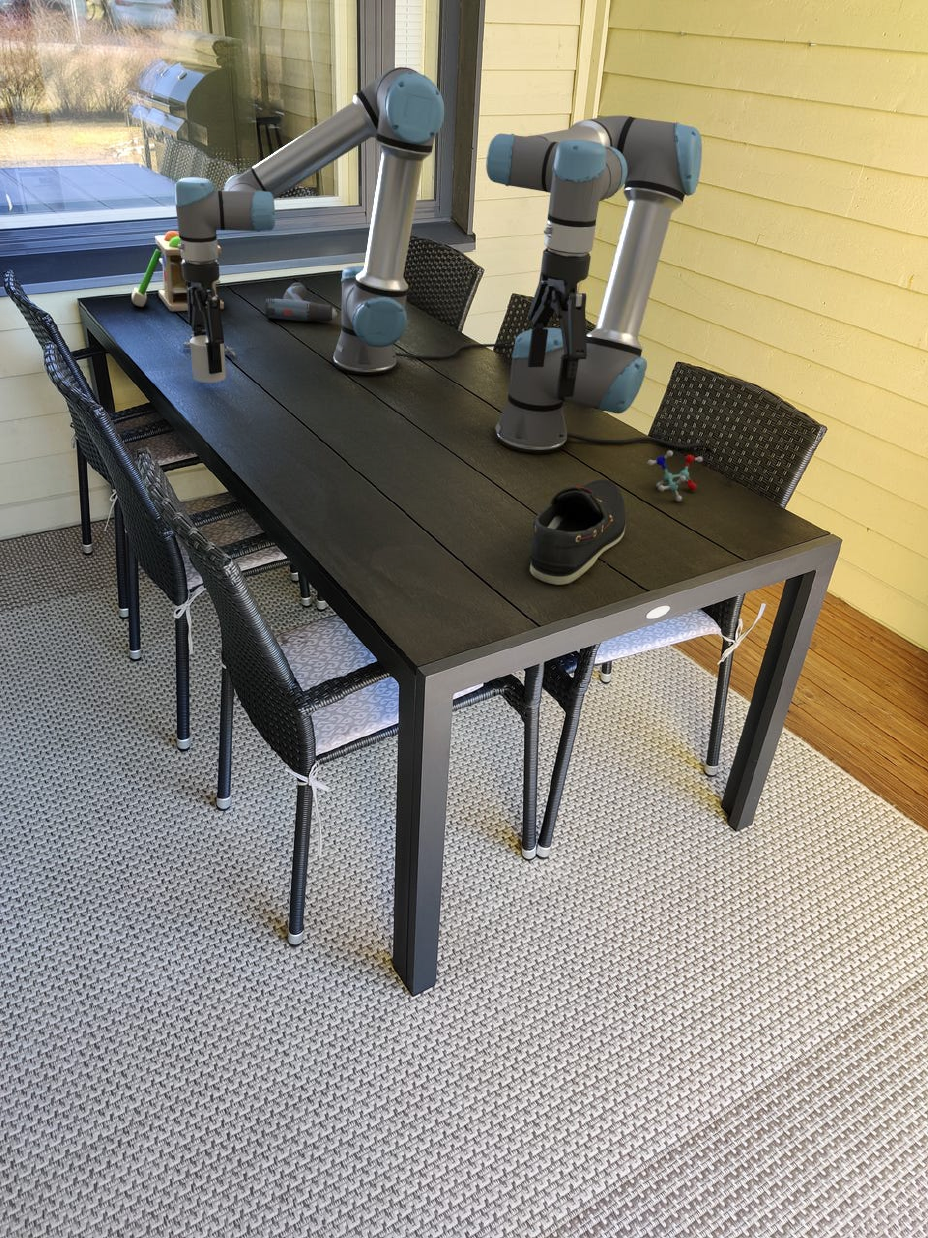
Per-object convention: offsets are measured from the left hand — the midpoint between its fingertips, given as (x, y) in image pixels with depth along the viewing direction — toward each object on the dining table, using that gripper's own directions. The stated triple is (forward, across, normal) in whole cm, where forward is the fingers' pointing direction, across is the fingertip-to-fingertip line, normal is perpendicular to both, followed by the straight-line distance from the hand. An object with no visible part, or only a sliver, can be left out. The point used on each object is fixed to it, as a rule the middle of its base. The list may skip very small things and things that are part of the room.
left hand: (208, 366), depth 216 cm
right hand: (-21, +81, +30) cm, 89 cm away
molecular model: (+6, +83, +62) cm, 104 cm away
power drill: (+5, -41, +43) cm, 59 cm away
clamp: (+5, -20, +8) cm, 22 cm away
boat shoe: (+6, +91, +32) cm, 97 cm away
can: (+2, 0, 0) cm, 2 cm away
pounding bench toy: (+5, -59, +13) cm, 60 cm away
